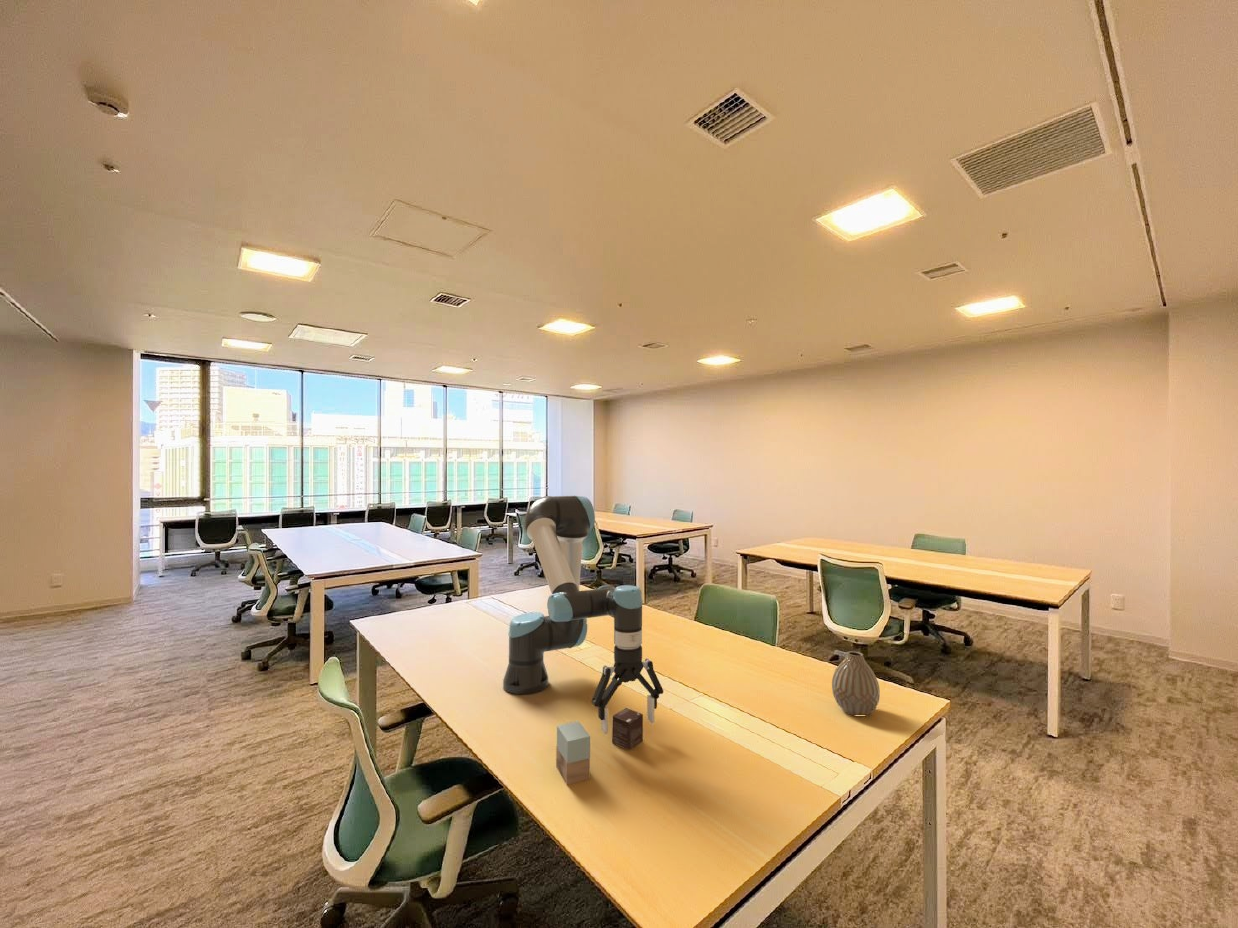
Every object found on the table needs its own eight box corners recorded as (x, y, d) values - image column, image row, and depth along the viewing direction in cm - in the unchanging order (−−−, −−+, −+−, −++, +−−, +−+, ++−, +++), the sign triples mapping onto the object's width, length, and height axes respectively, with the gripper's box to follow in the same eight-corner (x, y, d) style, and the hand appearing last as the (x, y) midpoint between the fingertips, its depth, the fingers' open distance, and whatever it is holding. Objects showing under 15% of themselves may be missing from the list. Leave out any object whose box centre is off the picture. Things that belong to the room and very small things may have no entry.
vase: (881, 708, 152) (880, 650, 153) (878, 726, 141) (878, 664, 142) (835, 698, 159) (834, 643, 160) (829, 715, 148) (828, 655, 148)
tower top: (556, 746, 120) (556, 725, 121) (578, 741, 123) (578, 721, 123) (567, 763, 113) (567, 741, 113) (590, 757, 116) (590, 736, 116)
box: (625, 734, 136) (626, 707, 136) (643, 741, 132) (643, 713, 132) (611, 743, 131) (611, 715, 132) (629, 751, 128) (629, 722, 128)
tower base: (556, 767, 120) (556, 746, 121) (577, 761, 123) (578, 741, 123) (566, 785, 113) (567, 763, 113) (589, 779, 116) (589, 757, 116)
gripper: (589, 656, 124) (589, 742, 123) (675, 643, 134) (676, 722, 133) (579, 647, 131) (579, 729, 130) (661, 635, 141) (662, 711, 140)
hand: (628, 726), depth 132 cm, fingers open, 13 cm apart
